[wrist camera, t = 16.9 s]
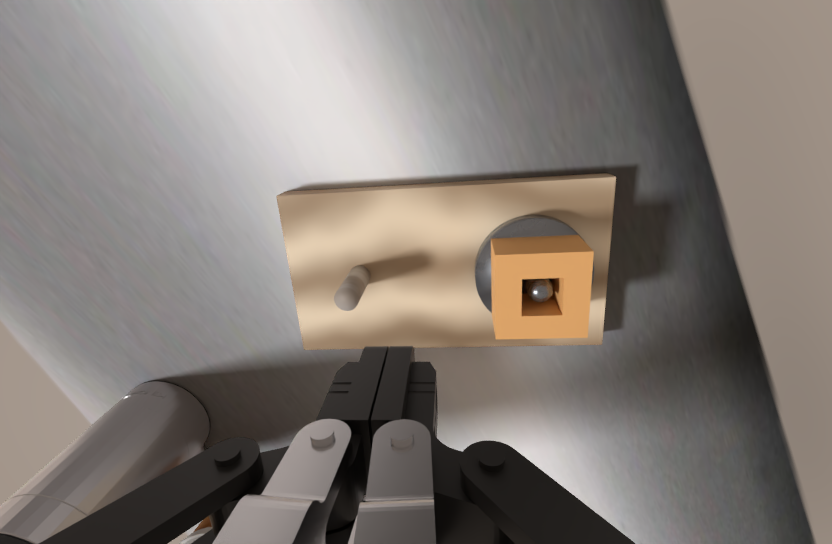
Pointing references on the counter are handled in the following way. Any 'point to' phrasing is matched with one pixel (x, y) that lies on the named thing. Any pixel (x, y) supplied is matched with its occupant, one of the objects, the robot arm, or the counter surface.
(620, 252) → the counter surface
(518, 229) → the hub
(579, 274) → the collar
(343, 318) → the stand board
